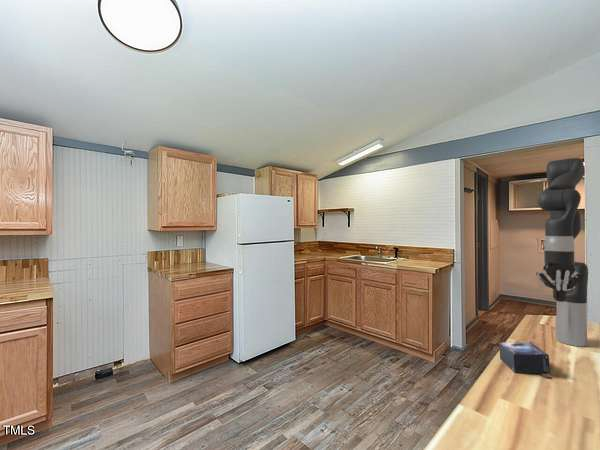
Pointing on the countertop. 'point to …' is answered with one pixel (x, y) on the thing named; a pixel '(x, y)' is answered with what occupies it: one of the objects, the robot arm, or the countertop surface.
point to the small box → (524, 357)
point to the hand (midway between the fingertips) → (559, 301)
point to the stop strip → (546, 375)
